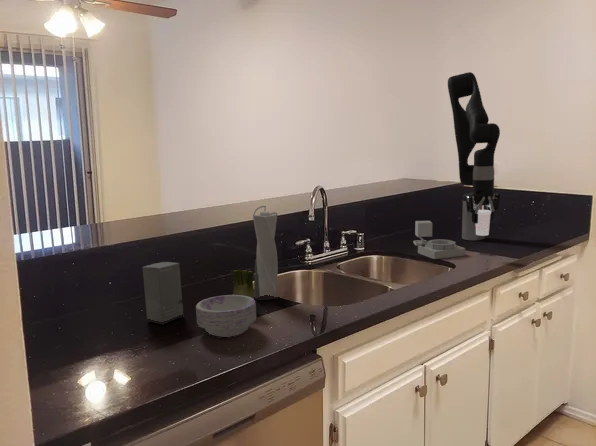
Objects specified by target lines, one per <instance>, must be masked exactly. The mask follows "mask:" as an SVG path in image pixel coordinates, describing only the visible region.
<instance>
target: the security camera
mask: <svg viewBox="0 0 596 446" xmlns="http://www.w3.org/2000/svg"><path fill="white" fill-rule="evenodd" d="M414 224H415V229H414V230H415V231H414V234H415V236H416V237H417V238H419V239H420V240H419V239H417V240H413V244H414V245H415V246H417V247H418V246H421V244H425V245H427V242H428V240H425V239H424V238H425V237H426V238H427V237H431V238H433V222H432V221H431V220H415V223H414ZM423 237H424V238H423Z"/></svg>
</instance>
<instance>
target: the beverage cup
mask: <svg viewBox="0 0 596 446" xmlns="http://www.w3.org/2000/svg"><path fill="white" fill-rule="evenodd" d="M483 207H484V208H485V205H482V210H479V211H478V213H477V214H478V223H477V224H476V235H480V236H485V237H486V236H489V234H490V223H491V222H490V214H491V211H490V210H487V209H484V210H483Z"/></svg>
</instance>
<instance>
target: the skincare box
mask: <svg viewBox="0 0 596 446" xmlns="http://www.w3.org/2000/svg"><path fill="white" fill-rule="evenodd" d="M142 276H143V288H144V299H145V311H146V320H147V319H151V320H154V321H159V322H164V321H167V320H170V319H172V318H174V317H177V316H179V315H182V314H183V315H184V307H183V295H182V294H183V293H182V292H183V291H182V282H181V278H182V277H181V267H180V262H173V261H172V262H171V261H161V262H157V263H151V264H149V265H144V266H142Z"/></svg>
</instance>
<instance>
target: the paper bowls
mask: <svg viewBox="0 0 596 446" xmlns="http://www.w3.org/2000/svg"><path fill="white" fill-rule="evenodd" d="M195 313H196V325H198V327H200V328H202V329H204V330H205V331H206V333H207V332H208V333H209V334H208V333H207V334H208V335H210V334H212V335H217V336H231V335H237V334H240V333H243V332H244V331H246V330H247V331H248V329H249V326H250V325H252V324H253V323H255V322H256V320H257V305H256V301H255V300H254V299H253V298H251V297H248V296H243V295H233V294H226V295H225V294H224V295H217V296H212V297H208V298H204V299H202V300H201V301H199V302H198V303H197V304H196V305H195ZM247 331H246V332H247ZM244 333H245V332H244ZM244 333H243V334H244Z"/></svg>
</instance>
